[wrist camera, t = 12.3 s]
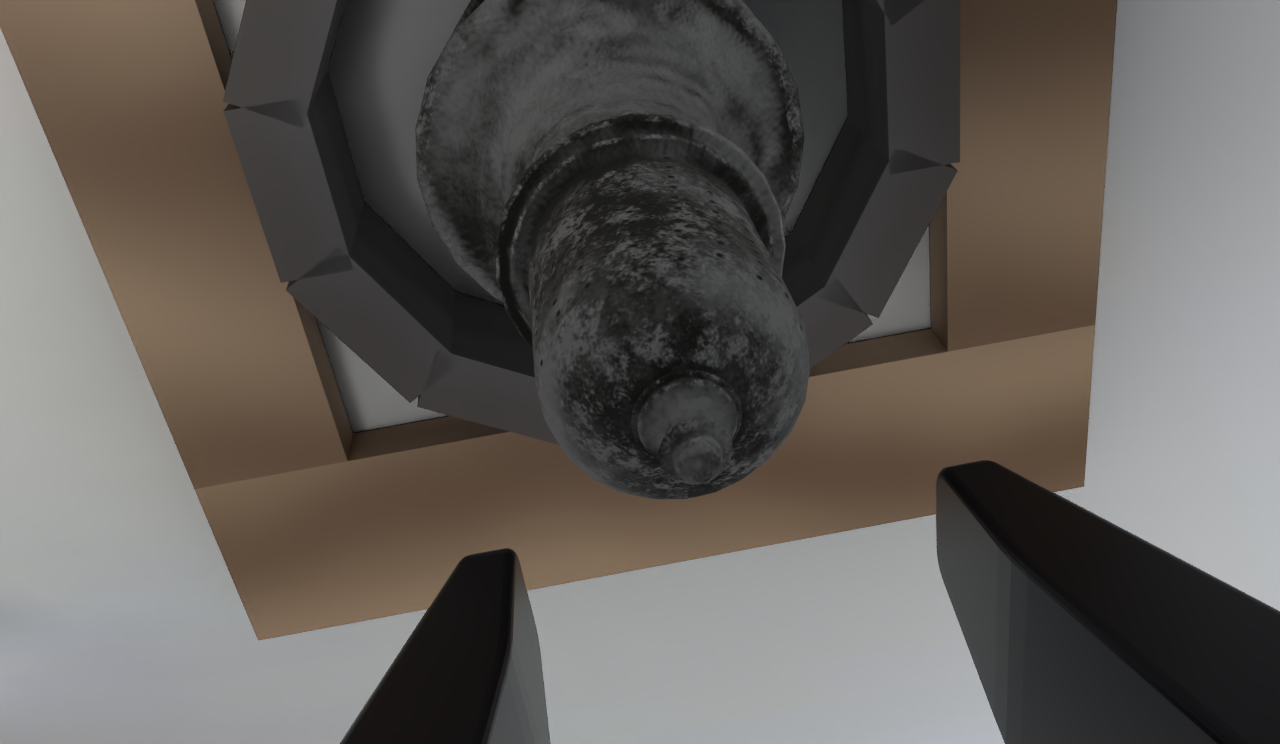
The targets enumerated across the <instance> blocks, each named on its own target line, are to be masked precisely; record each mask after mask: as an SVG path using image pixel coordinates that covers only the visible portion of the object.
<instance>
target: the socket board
mask: <svg viewBox="0 0 1280 744" xmlns="http://www.w3.org/2000/svg"><path fill="white" fill-rule="evenodd" d="M345 3H346V0H246V4H245V8H244V12H243V16H242V21H241V25H240V29H239V34H238V38H237V42H236V47H235V51H234V55H233V60H232V59H231V55H230V52H229V49H228V46H227V43H226V40H225V37H224V34H223V31H222V28H221V25H220V21H219V18H218V15H217V12H216V9H215V6H214V3H213V0H0V28H1V30H2V32H3V35H4V37H5V39H6V42H7V44H8V47H9V49H10V51H11V54H12V56H13V58H14V61H15V63H16V66H17V68H18V70H19V73H20V75H21V77H22V80H23V82H24V85H25V87H26V89H27V92H28V94H29V96H30V99H31V101H32V104H33V106H34V108H35V111H36V113H37V116H38V118H39V120H40V123H41V125H42V127H43V130H44V132H45V135H46V137H47V139H48V142H49V144H50V146H51V149H52V151H53V154H54V156H55V158H56V161H57V163H58V165H59V168H60V170H61V173H62V175H63V177H64V180H65V182H66V184H67V187H68V189H69V192H70V194H71V196H72V199H73V201H74V204H75V206H76V208H77V211H78V213H79V215H80V218H81V220H82V223H83V225H84V227H85V230H86V232H87V234H88V237H89V239H90V242H91V244H92V246H93V249H94V251H95V253H96V256H97V258H98V261H99V263H100V265H101V268H102V270H103V272H104V275H105V277H106V280H107V282H108V284H109V287H110V289H111V292H112V294H113V296H114V299H115V301H116V303H117V306H118V308H119V311H120V313H121V315H122V318H123V320H124V322H125V325H126V327H127V330H128V332H129V334H130V337H131V339H132V341H133V344H134V346H135V349H136V351H137V353H138V356H139V358H140V360H141V363H142V365H143V368H144V370H145V372H146V375H147V377H148V379H149V382H150V384H151V387H152V389H153V391H154V394H155V396H156V399H157V401H158V403H159V406H160V408H161V410H162V413H163V415H164V418H165V420H166V422H167V425H168V427H169V429H170V432H171V434H172V437H173V439H174V441H175V444H176V446H177V448H178V451H179V453H180V456H181V458H182V460H183V463H184V465H185V467H186V470H187V472H188V475H189V477H190V479H191V482H192V484H193V487H194V489H195V491H196V494H197V496H198V498H199V501H200V503H201V506H202V508H203V510H204V513H205V515H206V517H207V520H208V522H209V525H210V527H211V529H212V532H213V534H214V536H215V539H216V541H217V544H218V546H219V548H220V551H221V553H222V555H223V558H224V560H225V563H226V565H227V567H228V570H229V572H230V575H231V577H232V579H233V582H234V584H235V586H236V589H237V591H238V594H239V596H240V598H241V601H242V603H243V605H244V608H245V610H246V613H247V615H248V617H249V620H250V622H251V624H252V627H253V629H254V632H255V634H256V636H257V639H258V640H263V639H269V638H274V637H279V636H285V635H290V634H295V633H301V632H306V631H311V630H317V629H322V628H328V627H333V626H338V625H344V624H349V623H354V622H360V621H365V620H370V619H376V618H381V617H387V616H392V615H397V614H403V613H408V612H413V611H419V610H424V609H428V608H429V607H430V605H431V604H432V602H433V601H434V599H435V598H436V596H437V595H438V593H439V592H440V590H441V589H442V587H443V585H444V584H445V582H446V581H447V579H448V578H449V576H450V575H451V573H452V572H453V570H454V569H455V567H456V566H457V564H458V563H459V561H460V560H461V559H463V558H464V557H465V556H468V555H471V554H477V553H482V552H488V551H493V550H499V549H504V548H510V549H512V550H514V552H515V553H516V554H517V556H518V559H519V562H520V565H521V569H522V573H523V577H524V581H525V585H526V589H527V590H531V589H537V588H542V587H547V586H553V585H558V584H563V583H569V582H574V581H580V580H585V579H590V578H596V577H601V576H606V575H612V574H617V573H622V572H628V571H633V570H639V569H644V568H649V567H655V566H660V565H665V564H671V563H676V562H681V561H687V560H692V559H698V558H703V557H708V556H714V555H719V554H724V553H730V552H735V551H740V550H746V549H751V548H756V547H762V546H767V545H773V544H778V543H783V542H789V541H794V540H799V539H805V538H810V537H815V536H821V535H826V534H832V533H837V532H842V531H848V530H853V529H858V528H864V527H869V526H874V525H880V524H885V523H891V522H896V521H901V520H907V519H912V518H917V517H923V516H928V515H933V514H936V481H937V477H938V474H939V473H940V471H941V470H942V469H943V468H945V467H949V466H954V465H960V464H965V463H970V462H976V461H981V460H990V461H994V462H996V463H999V464H1000V465H1002V466H1004V467H1006V468H1008V469H1010V470H1012V471H1014V472H1016V473H1018V474H1019V475H1021V476H1023V477H1025V478H1027V479H1029V480H1031V481H1033V482H1035V483H1037V484H1038V485H1040V486H1042V487H1044V488H1046V489H1048V490H1050V491H1052V492H1057V491H1062V490H1067V489H1073V488H1078V487H1084V479H1085V464H1086V450H1087V435H1088V420H1089V406H1090V391H1091V377H1092V362H1093V348H1094V333H1095V319H1096V304H1097V289H1098V275H1099V260H1100V246H1101V231H1102V217H1103V202H1104V188H1105V173H1106V158H1107V144H1108V129H1109V115H1110V100H1111V86H1112V71H1113V57H1114V42H1115V27H1116V13H1117V0H842V4H843V24H844V44H845V64H846V83H847V103H848V117H847V119H846V121H845V124H844V126H843V128H842V130H841V132H840V134H839V136H838V138H837V140H836V142H835V144H834V146H833V148H832V150H831V152H830V155H829V157H828V159H827V161H826V163H825V165H824V167H823V169H822V171H821V173H820V175H819V177H818V179H817V181H816V183H815V186H814V188H813V190H812V192H811V194H810V196H809V198H808V200H807V202H806V204H805V206H804V208H803V210H802V212H801V214H800V216H799V219H798V221H797V223H796V225H795V227H794V229H793V231H792V232H791V233H789V234H788V235H787V236H785V244H786V248H785V255H784V263H783V271H782V279H783V281H784V283H785V285H786V287H787V289H788V291H789V293H790V294H791V297H792V299H793V301H794V303H795V305H796V307H797V309H798V311H799V314H800V316H801V318H802V320H803V322H804V324H805V331H806V338H807V345H808V352H809V365H810V372H809V379H808V386H807V393H806V400H805V403H804V405H803V408H802V410H801V412H800V414H799V417H798V419H797V421H796V423H795V426H794V428H793V430H792V432H791V433H790V434H789V436H788V437H787V438H786V439H785V441H784V442H783V443H782V444H781V446H780V447H779V448H778V449H777V451H776V452H775V453H774V455H773V456H772V457H771V458H769V459H768V460H767V461H766V462H764V463H763V464H762V465H760V466H759V467H758V468H757V469H755V470H754V471H753V472H752V473H750V474H749V475H748V476H747V477H745V478H744V479H742V480H740V481H738V482H736V483H734V484H732V485H730V486H728V487H726V488H724V489H721V490H719V491H717V492H715V493H711V494H706V495H702V496H698V497H694V498H690V499H649V498H644V497H639V496H635V495H630V494H625V493H621V492H618V491H616V490H614V489H612V488H610V487H608V486H606V485H604V484H602V483H600V482H598V481H596V480H594V479H592V478H591V477H589V476H588V475H587V474H586V473H585V472H584V471H583V470H581V469H580V468H579V467H578V466H577V465H576V464H575V463H573V462H572V461H571V460H570V459H569V458H568V457H567V455H566V454H565V452H564V451H563V449H562V448H561V446H560V444H559V443H558V441H557V440H556V438H555V437H554V435H553V434H552V432H551V430H550V428H549V427H548V425H547V423H546V421H545V419H544V416H543V412H542V409H541V405H540V402H539V398H538V395H537V392H536V388H535V373H534V358H533V349H532V348H531V347H530V346H529V345H528V344H527V343H526V342H525V341H524V340H523V338H522V336H521V335H520V333H519V332H518V330H517V329H516V327H515V325H514V324H513V322H512V321H511V319H510V317H509V316H508V314H507V313H506V310H505V306H501V305H498V304H495V303H491V302H488V301H485V300H481V299H478V298H475V297H472V296H468V295H465V294H462V293H458V292H455V291H454V290H453V289H452V288H451V287H450V286H449V285H448V284H447V283H446V282H445V281H444V280H443V279H442V278H441V277H440V276H439V275H438V274H437V273H436V272H435V271H434V270H433V269H432V268H431V267H430V266H429V265H428V264H427V263H426V262H425V261H424V260H423V259H422V258H421V257H420V256H419V255H418V254H417V253H416V252H415V251H414V250H413V249H412V248H411V247H410V246H409V245H408V244H407V243H406V242H405V241H404V240H403V239H402V238H401V237H400V236H399V235H398V234H397V233H396V232H395V231H394V230H393V229H392V228H391V227H390V226H389V225H388V224H387V223H386V222H385V221H384V220H383V219H382V218H381V217H380V216H379V215H378V214H376V213H375V212H374V211H373V210H372V209H371V208H370V207H369V206H368V205H367V204H366V203H365V202H364V199H363V195H362V192H361V188H360V185H359V181H358V178H357V174H356V171H355V167H354V164H353V160H352V156H351V153H350V149H349V146H348V142H347V139H346V135H345V132H344V128H343V125H342V121H341V118H340V114H339V110H338V107H337V103H336V100H335V96H334V93H333V89H332V86H331V82H330V79H329V75H328V72H327V69H328V66H329V62H330V58H331V54H332V51H333V47H334V43H335V40H336V36H337V32H338V29H339V25H340V21H341V18H342V14H343V10H344V6H345ZM928 225H929V230H930V301H931V329H926V330H921V331H915V332H910V333H904V334H899V335H893V336H888V337H882V338H877V339H871V340H866V341H860V342H855V343H849V344H846V343H847V342H848V341H850V340H851V339H853V338H854V337H855V336H857V335H858V334H860V333H861V332H862V331H864V330H865V329H867V328H868V327H869V326H871V325H872V322H871V320H870V319H869V317H868V316H867V314H868V315H871V316H874V317H878V318H879V316H880V314H881V312H882V310H883V308H884V307H885V305H886V303H887V301H888V299H889V297H890V295H891V294H892V292H893V290H894V288H895V286H896V284H897V283H898V281H899V279H900V277H901V275H902V273H903V271H904V270H905V268H906V266H907V264H908V262H909V260H910V258H911V257H912V255H913V253H914V251H915V249H916V247H917V245H918V244H919V242H920V240H921V238H922V236H923V234H924V232H925V231H926V229H927V227H928ZM315 317H316V318H317V319H318V320H319V321H320V322H321V323H322V324H324V325H325V326H326V327H327V328H328V329H329V330H330V331H331V332H332V333H334V334H335V335H336V336H337V337H338V338H339V339H340V340H341V341H342V342H343V343H345V344H346V345H347V346H348V347H349V348H350V349H351V350H352V351H353V352H355V353H356V354H357V355H358V356H359V357H360V358H361V359H362V360H363V361H364V362H366V363H367V364H368V365H369V366H370V367H371V368H372V369H373V370H374V371H375V372H377V373H378V374H379V375H380V376H381V377H382V378H383V379H384V380H385V381H387V382H388V383H389V384H390V385H391V386H392V387H393V388H394V389H395V390H396V391H398V392H399V393H400V394H401V395H402V396H403V397H404V398H405V399H406V400H408V401H409V402H412V401H413V400H414V399H415V398H417V397H418V406H417V407H420V408H424V409H428V410H431V411H435V412H439V413H443V414H446V415H450V416H448V417H442V418H437V419H431V420H426V421H420V422H415V423H409V424H404V425H398V426H393V427H387V428H382V429H376V430H371V431H365V432H360V433H354V434H353V433H352V429H351V426H350V423H349V420H348V417H347V414H346V411H345V408H344V405H343V402H342V399H341V395H340V392H339V389H338V386H337V383H336V380H335V377H334V374H333V371H332V368H331V365H330V361H329V358H328V355H327V352H326V349H325V346H324V343H323V340H322V337H321V334H320V331H319V327H318V324H317V321H316V318H315Z"/></svg>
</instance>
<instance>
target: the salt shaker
mask: <svg viewBox="0 0 1280 744" xmlns="http://www.w3.org/2000/svg"><path fill="white" fill-rule="evenodd" d="M803 143H804V133H803V125H802V118H801V110H800V103H799V95H798V89H797V87H796V84H795V82H794V80H793V77H792V75H791V73H790V70H789V68H788V66H787V63H786V61H785V59H784V57H783V54H782V52H781V50H780V47H779V45H778V43H777V42H776V41H775V39H774V38H773V37H772V36H771V34H770V33H769V32H768V31H767V30H766V28H765V27H764V26H763V25H762V23H761V22H760V21H759V20H758V19H757V17H756V16H755V15H754V14H753V12H752V11H751V10H750V9H749V8H748V6H747V5H746V4H745V3H744V2H743V1H741V0H471V2H470V3H469V5H468V7H467V9H466V10H465V12H464V14H463V16H462V17H461V19H460V21H459V23H458V24H457V26H456V28H455V30H454V32H453V34H452V35H451V37H450V39H449V41H448V42H447V44H446V46H445V48H444V49H443V51H442V53H441V55H440V57H439V58H438V60H437V62H436V64H435V65H434V67H433V69H432V71H431V72H430V74H429V76H428V79H427V83H426V87H425V91H424V95H423V100H422V104H421V108H420V112H419V116H418V120H417V124H416V156H417V180H418V183H419V186H420V189H421V192H422V195H423V198H424V201H425V204H426V208H427V211H428V214H429V217H430V220H431V223H432V226H433V227H434V229H435V231H436V232H437V234H438V235H439V237H440V238H441V240H442V241H443V243H444V244H445V246H446V247H447V249H448V250H449V252H450V253H451V255H452V257H453V258H454V260H455V261H456V263H457V264H458V266H459V267H460V268H462V269H463V270H464V271H465V272H466V273H467V274H468V275H469V276H470V277H472V278H473V279H474V280H475V281H476V282H477V283H478V284H479V285H480V286H482V287H483V288H484V289H485V290H486V291H487V292H488V293H489V294H490V295H492V296H493V297H494V298H496V299H498V300H500V301H502V302H503V303H504V306H505V310H506V313H507V314H508V316H509V317H510V319H511V321H512V322H513V324H514V325H515V327H516V329H517V330H518V332H519V333H520V335H521V336H522V338H523V340H524V341H525V342H526V343H527V344H528V345H529V346H530V347H531V348H532V349H533V358H534V373H535V388H536V392H537V395H538V398H539V402H540V405H541V409H542V412H543V416H544V419H545V421H546V423H547V425H548V427H549V428H550V430H551V432H552V434H553V435H554V437H555V438H556V440H557V441H558V443H559V444H560V446H561V448H562V449H563V451H564V452H565V454H566V455H567V457H568V458H569V459H570V460H571V461H572V462H573V463H575V464H576V465H577V466H578V467H579V468H580V469H581V470H583V471H584V472H585V473H586V474H587V475H588V476H589V477H591V478H592V479H594V480H596V481H598V482H600V483H602V484H604V485H606V486H608V487H610V488H612V489H614V490H616V491H618V492H621V493H625V494H630V495H635V496H639V497H644V498H649V499H690V498H694V497H698V496H702V495H706V494H711V493H715V492H717V491H719V490H721V489H724V488H726V487H728V486H730V485H732V484H734V483H736V482H738V481H740V480H742V479H744V478H745V477H747V476H748V475H749V474H750V473H752V472H753V471H754V470H755V469H757V468H758V467H759V466H760V465H762V464H763V463H764V462H766V461H767V460H768V459H769V458H771V457H772V456H773V455H774V453H775V452H776V451H777V449H778V448H779V447H780V446H781V444H782V443H783V442H784V441H785V439H786V438H787V437H788V436H789V434H790V433H791V432H792V430H793V428H794V426H795V423H796V421H797V419H798V417H799V414H800V412H801V410H802V408H803V405H804V403H805V400H806V393H807V386H808V379H809V372H810V365H809V352H808V345H807V338H806V331H805V324H804V322H803V320H802V318H801V316H800V314H799V311H798V309H797V307H796V305H795V303H794V301H793V299H792V297H791V294H790V293H789V291H788V289H787V287H786V285H785V283H784V281H783V279H782V271H783V263H784V255H785V248H786V244H785V237H784V230H783V224H782V223H783V221H784V218H785V216H786V213H787V211H788V209H789V206H790V204H791V201H792V199H793V196H794V194H795V191H796V189H797V187H798V181H799V173H800V166H801V158H802V151H803Z"/></svg>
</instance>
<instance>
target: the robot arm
mask: <svg viewBox="0 0 1280 744" xmlns="http://www.w3.org/2000/svg"><path fill="white" fill-rule="evenodd" d="M936 530H937V556H938V563H939V568H940V572H941V575H942V578H943V581H944V584H945V587H946V589H947V592H948V595H949V597H950V600H951V603H952V605H953V608H954V611H955V613H956V616H957V619H958V621H959V624H960V627H961V629H962V632H963V635H964V637H965V640H966V643H967V645H968V648H969V651H970V653H971V656H972V659H973V661H974V664H975V667H976V669H977V672H978V675H979V677H980V680H981V683H982V685H983V688H984V691H985V693H986V696H987V699H988V701H989V704H990V707H991V709H992V712H993V715H994V717H995V720H996V722H997V725H998V727H999V730H1000V732H1001V735H1002V737H1003V740H1004V742H1005V744H1280V611H1278V610H1276V609H1274V608H1273V607H1271V606H1269V605H1267V604H1265V603H1263V602H1261V601H1259V600H1257V599H1255V598H1254V597H1252V596H1250V595H1248V594H1246V593H1244V592H1242V591H1240V590H1238V589H1236V588H1234V587H1233V586H1231V585H1229V584H1227V583H1225V582H1223V581H1221V580H1219V579H1217V578H1215V577H1214V576H1212V575H1210V574H1208V573H1206V572H1204V571H1202V570H1200V569H1198V568H1196V567H1195V566H1193V565H1191V564H1189V563H1187V562H1185V561H1183V560H1181V559H1179V558H1177V557H1175V556H1174V555H1172V554H1170V553H1168V552H1166V551H1164V550H1162V549H1160V548H1158V547H1156V546H1155V545H1153V544H1151V543H1149V542H1147V541H1145V540H1143V539H1141V538H1139V537H1137V536H1136V535H1134V534H1132V533H1130V532H1128V531H1126V530H1124V529H1122V528H1120V527H1118V526H1116V525H1115V524H1113V523H1111V522H1109V521H1107V520H1105V519H1103V518H1101V517H1099V516H1097V515H1096V514H1094V513H1092V512H1090V511H1088V510H1086V509H1084V508H1082V507H1080V506H1078V505H1077V504H1075V503H1073V502H1071V501H1069V500H1067V499H1065V498H1063V497H1061V496H1059V495H1057V494H1056V493H1054V492H1052V491H1050V490H1048V489H1046V488H1044V487H1042V486H1040V485H1038V484H1037V483H1035V482H1033V481H1031V480H1029V479H1027V478H1025V477H1023V476H1021V475H1019V474H1018V473H1016V472H1014V471H1012V470H1010V469H1008V468H1006V467H1004V466H1002V465H1000V464H999V463H996V462H994V461H990V460H981V461H976V462H970V463H965V464H960V465H954V466H949V467H945V468H943V469H942V470H941V471H940V473H939V474H938V477H937V481H936ZM340 744H550V737H549V727H548V718H547V709H546V700H545V690H544V681H543V672H542V662H541V653H540V646H539V640H538V634H537V629H536V625H535V621H534V617H533V613H532V609H531V605H530V601H529V597H528V593H527V589H526V585H525V581H524V577H523V573H522V569H521V565H520V562H519V559H518V556H517V554H516V553H515V552H514V550H512V549H510V548H504V549H499V550H493V551H488V552H482V553H477V554H471V555H468V556H465V557H464V558H463V559H461V560H460V561H459V563H458V564H457V566H456V567H455V569H454V570H453V572H452V573H451V575H450V576H449V578H448V579H447V581H446V582H445V584H444V585H443V587H442V589H441V590H440V592H439V593H438V595H437V596H436V598H435V599H434V601H433V602H432V604H431V605H430V607H429V608H428V610H427V611H426V613H425V614H424V616H423V618H422V619H421V621H420V622H419V624H418V625H417V627H416V628H415V630H414V631H413V633H412V634H411V636H410V637H409V639H408V640H407V642H406V643H405V645H404V646H403V648H402V650H401V651H400V653H399V654H398V656H397V657H396V659H395V660H394V662H393V663H392V665H391V666H390V668H389V669H388V671H387V672H386V674H385V675H384V677H383V679H382V680H381V682H380V683H379V685H378V686H377V688H376V689H375V691H374V692H373V694H372V695H371V697H370V698H369V700H368V701H367V703H366V704H365V706H364V707H363V709H362V711H361V712H360V714H359V715H358V717H357V718H356V720H355V721H354V723H353V724H352V726H351V727H350V729H349V730H348V732H347V733H346V735H345V736H344V738H343V740H342V741H341V743H340Z"/></svg>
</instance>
